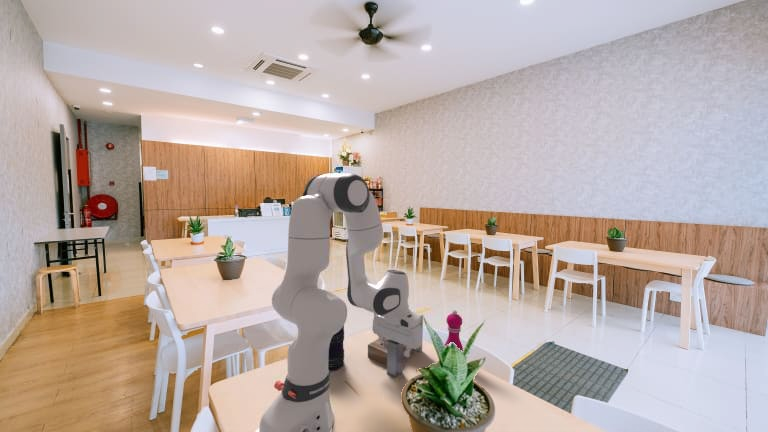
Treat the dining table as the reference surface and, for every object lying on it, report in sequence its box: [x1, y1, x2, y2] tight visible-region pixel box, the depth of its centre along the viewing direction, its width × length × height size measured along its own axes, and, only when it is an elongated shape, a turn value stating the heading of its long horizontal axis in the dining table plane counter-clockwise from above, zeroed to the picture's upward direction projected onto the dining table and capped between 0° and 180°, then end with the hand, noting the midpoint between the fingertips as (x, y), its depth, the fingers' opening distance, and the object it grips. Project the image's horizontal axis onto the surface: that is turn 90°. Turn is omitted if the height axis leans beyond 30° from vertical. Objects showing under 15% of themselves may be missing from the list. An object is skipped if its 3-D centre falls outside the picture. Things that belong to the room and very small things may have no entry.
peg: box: [386, 340, 404, 379], centre depth 112 cm, size 4×4×12 cm
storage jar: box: [328, 325, 345, 372], centre depth 117 cm, size 10×10×15 cm
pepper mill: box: [444, 309, 464, 352], centre depth 121 cm, size 7×7×20 cm
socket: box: [367, 337, 414, 366], centre depth 125 cm, size 14×12×5 cm
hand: (396, 351), depth 112 cm, fingers open, 8 cm apart
